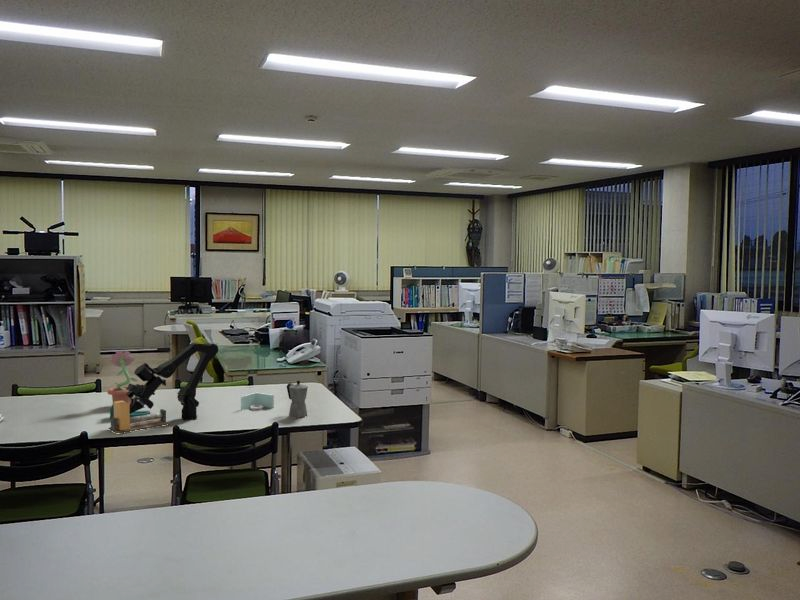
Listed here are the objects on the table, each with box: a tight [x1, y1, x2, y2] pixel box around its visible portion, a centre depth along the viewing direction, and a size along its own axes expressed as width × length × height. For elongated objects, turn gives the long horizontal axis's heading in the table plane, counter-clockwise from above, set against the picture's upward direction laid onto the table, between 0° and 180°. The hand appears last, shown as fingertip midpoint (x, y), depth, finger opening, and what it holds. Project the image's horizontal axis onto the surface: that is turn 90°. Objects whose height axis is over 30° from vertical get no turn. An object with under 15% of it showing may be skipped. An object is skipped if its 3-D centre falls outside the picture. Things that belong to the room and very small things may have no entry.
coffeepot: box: [286, 380, 308, 419], centre depth 319 cm, size 15×9×18 cm, turn 49°
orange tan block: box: [114, 400, 130, 430], centre depth 286 cm, size 4×8×12 cm, turn 45°
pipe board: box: [107, 408, 170, 434], centre depth 292 cm, size 24×10×6 cm, turn 135°
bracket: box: [109, 402, 151, 420], centre depth 309 cm, size 18×7×8 cm, turn 110°
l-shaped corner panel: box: [240, 391, 275, 411], centre depth 331 cm, size 12×12×8 cm
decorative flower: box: [107, 350, 139, 405], centre depth 328 cm, size 15×14×30 cm
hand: (126, 414), depth 288 cm, fingers closed
